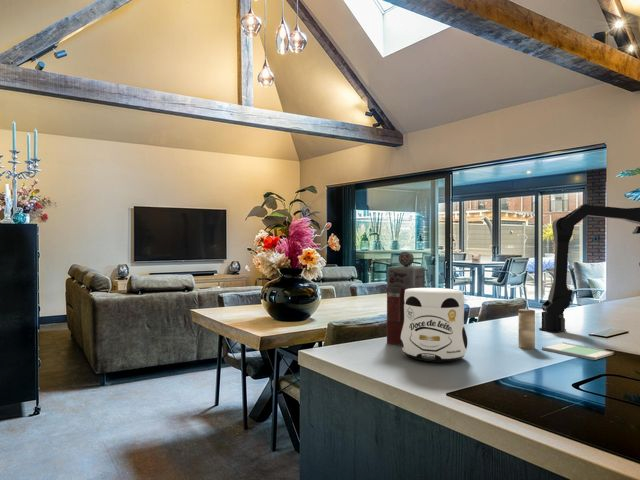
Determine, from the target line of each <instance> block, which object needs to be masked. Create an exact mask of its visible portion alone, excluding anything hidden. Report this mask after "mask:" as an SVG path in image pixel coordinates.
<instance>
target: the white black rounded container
mask: <svg viewBox="0 0 640 480" xmlns="http://www.w3.org/2000/svg"><path fill="white" fill-rule="evenodd" d="M404 303H405V304H404V324H403V328H402V332H401V345H400V346H401V350H402V352H403V353H404V354H405V355H406V356H408V357H410V358H413V359H416V360H419V361H425V362H434V363H445V362H453V361H457V360H460V359H463V357H464V356H465V355H466V353H467V348H468V337H467V336H468V335H467V332H466V328H465V320H464V319H465V306H464V305H465V298H464V291H463V290H459V289H453V288H444V287H425V288H410V289H406V290H405V294H404Z"/></svg>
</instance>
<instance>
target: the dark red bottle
mask: <svg viewBox="0 0 640 480" xmlns="http://www.w3.org/2000/svg"><path fill="white" fill-rule="evenodd" d="M414 260H415V257H414V255H413V253H412V252H411V251H402V252H400V253H399V255H398V262H399V264H400V265H394V266H389V267H387V270H386V344H388V345H389V344H390V345H395V346H396V345H397V346H401V332H402V328H403V324H404V304H405V303H404V294H405V290H406V289H410V288H426V268H425V266H421V265H420V266H417V265H416V266H415V265H412V264H413V262H414Z"/></svg>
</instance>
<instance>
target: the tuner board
mask: <svg viewBox="0 0 640 480" xmlns="http://www.w3.org/2000/svg"><path fill="white" fill-rule="evenodd" d="M541 350H542V351H546V350H547V352H551V353H556V354H561V355H565V356H570V357H576V358H582V359H585V360H589V361H595V360H596V361H597V360H598V359H603V358H606V357H610V356H613V355H614V354H615V351H612V350H611V351H610V350H606V349H600V348H595V347H591V346H590V347H589V346H585V345H584V346H583V345H579V344H575V343H574V344H573V343H567V342H563V341H562V342H561V343H556V344H552V345H548V346H543V347H541Z"/></svg>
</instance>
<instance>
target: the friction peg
mask: <svg viewBox="0 0 640 480" xmlns="http://www.w3.org/2000/svg"><path fill="white" fill-rule="evenodd" d="M518 348H520V349H523V350H535V348H536V310H535V309H529V308H527V309H526V308H520V309H518Z"/></svg>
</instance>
